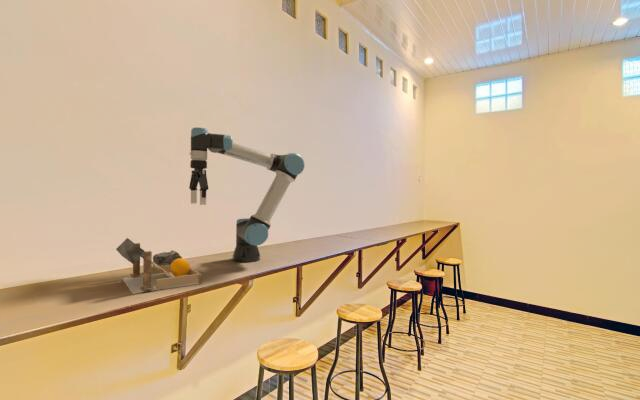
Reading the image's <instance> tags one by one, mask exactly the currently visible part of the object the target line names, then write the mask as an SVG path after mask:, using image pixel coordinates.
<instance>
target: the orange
mask: <svg viewBox="0 0 640 400" xmlns="http://www.w3.org/2000/svg"><path fill="white" fill-rule="evenodd" d="M190 265H191V264H190V262H189V261H188V260H187V259H185V258H183V257H182V258H179V259H176V260H174V261H173V262H172V263H171V272H172V274H173V275H174V276H176V277H178V276H185V275H186V274H187V273H188V272H189V270H190V267H191V266H190Z"/></svg>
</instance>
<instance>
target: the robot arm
mask: <svg viewBox="0 0 640 400" xmlns="http://www.w3.org/2000/svg"><path fill="white" fill-rule="evenodd" d="M190 132H191V133H190V152H189V155H190V163H189V164H190V165H189V166H190V168H191V169H193V170H191V176H190V182H189V190H190V204H198V200H197V199H198V196H197V195H198V184H199V187H200V189H199V205H201V206H202V205H203V206H206V205H207V190H209V183H208V177H207V170H206V169H208V161H207V160H208V151H209V152H211V153H214V154H215V153H216V154H220V155H224V156H227V157H231V158H233V159H237V160H241V161H244V162H247V163H250V164H254V165H257V166H260V167H263V168H266V169H267V171H271V172H274V173H275V177H274V179H273V180H272V182H271V184H270V187H269V188H268V190H267V192H266V193H265V195H264V197H263V199H262V201H261V203H260V204H259V206H258V208H257V210H256V211H255V213H254V214H251V216H250V217H249V218H238V219H237V220H236V225H235V226H236V230H235V232H236V233H235V234H236V236H235V237H236V239H235V248H234V251H233V254H232V261H234V262H237V263H239V262H241V263H246V262H247V263H249V262H250V263H252V262H256V261H257V262H258V261H260V260H261V254H260V251H259V246H260V245H263V244H264V243H265V242H266V241H267V240H268V239H269V230H270V228H271V227H272V225H271V220H272V218H273V216H274V215H275V212H276V211H277V209H278V207H279V205H280V203H281V201H282V199H283V197H284V195H285V193H286V191H287V189H288V188H289V187H290V184H291V183H293V182H295V181H296V178H297V177H298V175H300V174H302V173H303V171H304V169H305V161H304V159H303V156H301V155H300V154H298V153H296V152H294V153H293V152H290V153H287V154H281V155H280V154H274V153H270V154H269V153H267V152H266V153H265V152H262V151H260V150H256V149H253V148H250V147H247V146H244V145H240V144H237V143H234V139H233V137H232V135H230V134H222V133H221V134H219V133H210V132H208V129H207V128H204V127H192V129H191V131H190Z"/></svg>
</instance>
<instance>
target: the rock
mask: <svg viewBox="0 0 640 400" xmlns="http://www.w3.org/2000/svg"><path fill="white" fill-rule="evenodd" d="M179 258H182V259H183V257H182V256H181V255H180V253H179V252H177V251H175V250H170V251H168V252H167V251H166V252H165V251H162V252H160V253H156V254H154V255H152V261H153V262H154V263H155V264H157V265H158V266H163V265H171V263H172V262H173V261H174V260H176V259H179ZM152 267H154V265H152Z"/></svg>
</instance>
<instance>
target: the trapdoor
mask: <svg viewBox="0 0 640 400" xmlns="http://www.w3.org/2000/svg"><path fill="white" fill-rule="evenodd" d="M135 243H136V242H133V241H132V240H131V239H130V238H128V237H127V238H125V240H123V242H122V243H120V244H119V246H118V247H117V248H116V252H118V253H119V255H120V256H121V257H123V258H124V259H125V260H126V261H128V262H130V263H131V264H132V265H133V264H134V263H135V262H136V261H137V260H138V259H139V258H140V259H141V258H142V259H143V256H144V252H146V251H145V250H144V249H143V248H141V246H140V247H139V246H137V245H136V244H135ZM153 265H154V266H155V267H156V268H158V269H159V270H160V271H162V272H163V273H164V274H166V275H167V276H168V277H170V278H171V277H172V276H171V275H170V274H169V273H167V272H166V271H165V270H163V269H162V268H161V267H159V266H158V265H157V264H155V263H154V262H153V260H152V266H153Z"/></svg>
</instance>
